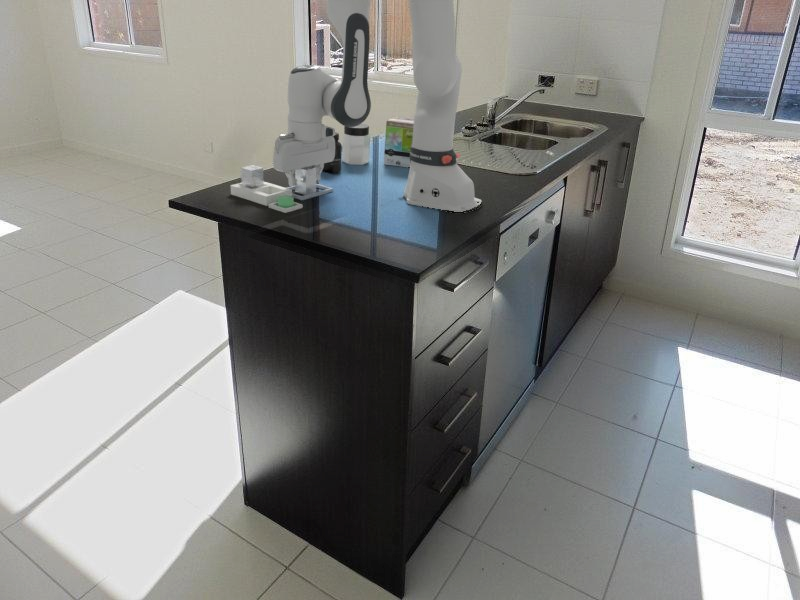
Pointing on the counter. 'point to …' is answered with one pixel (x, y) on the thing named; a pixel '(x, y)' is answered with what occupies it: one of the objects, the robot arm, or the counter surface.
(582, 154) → the counter surface
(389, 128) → the tea box
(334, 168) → the supplement bottle
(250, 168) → the block
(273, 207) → the button housing
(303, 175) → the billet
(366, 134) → the jar
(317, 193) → the tote
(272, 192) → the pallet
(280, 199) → the button
